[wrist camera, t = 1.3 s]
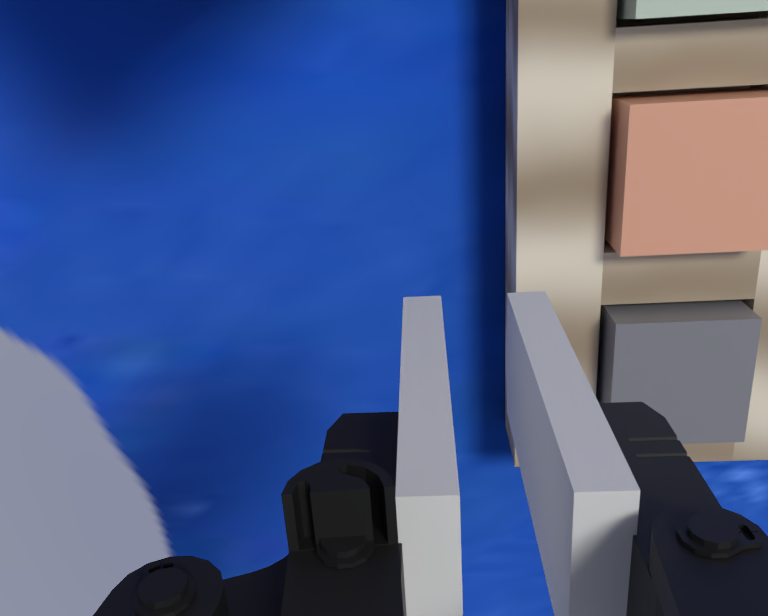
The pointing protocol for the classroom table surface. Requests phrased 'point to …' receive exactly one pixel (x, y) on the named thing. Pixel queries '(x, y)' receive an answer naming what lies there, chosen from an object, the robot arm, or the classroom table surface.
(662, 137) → the terracotta button
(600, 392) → the charcoal button
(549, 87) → the button panel
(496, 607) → the classroom table surface
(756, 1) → the sage button
